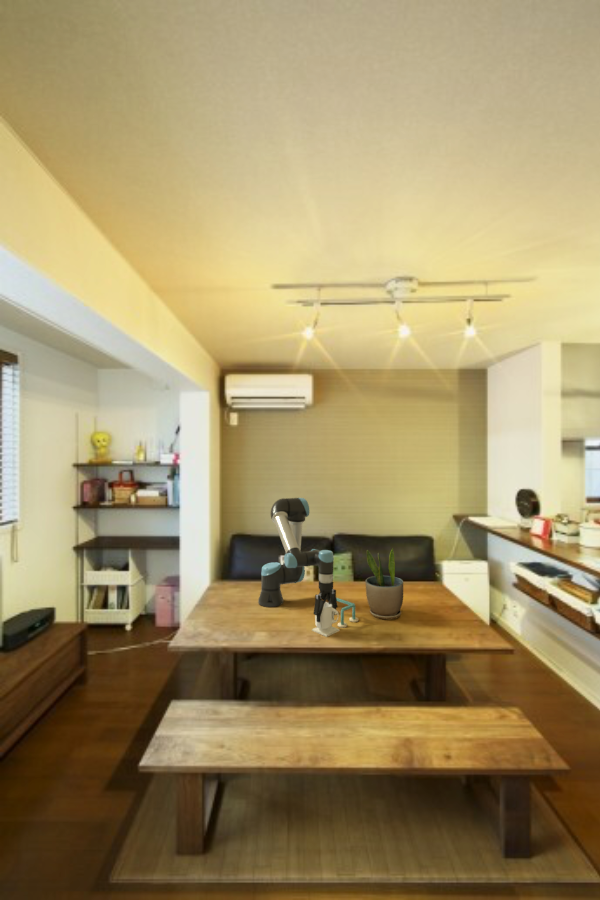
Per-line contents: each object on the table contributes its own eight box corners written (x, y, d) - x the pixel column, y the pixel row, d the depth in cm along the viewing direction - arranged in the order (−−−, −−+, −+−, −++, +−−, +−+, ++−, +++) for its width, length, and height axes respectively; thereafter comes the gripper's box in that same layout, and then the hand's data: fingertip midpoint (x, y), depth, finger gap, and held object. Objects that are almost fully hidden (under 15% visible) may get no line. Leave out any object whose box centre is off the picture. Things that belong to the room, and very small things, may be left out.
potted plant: (357, 615, 230) (358, 544, 231) (378, 604, 246) (378, 538, 246) (390, 625, 216) (391, 550, 216) (410, 614, 232) (410, 543, 232)
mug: (338, 630, 204) (338, 608, 205) (314, 628, 206) (314, 607, 206) (339, 623, 213) (339, 602, 213) (316, 621, 215) (316, 601, 215)
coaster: (311, 630, 209) (311, 629, 209) (324, 625, 216) (324, 623, 216) (326, 636, 202) (326, 635, 202) (339, 630, 209) (339, 629, 209)
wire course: (316, 618, 225) (316, 601, 225) (333, 610, 236) (333, 595, 236) (342, 628, 212) (343, 611, 212) (360, 620, 222) (360, 603, 222)
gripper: (317, 587, 199) (316, 633, 199) (344, 578, 214) (344, 621, 214) (306, 584, 204) (305, 629, 204) (333, 575, 220) (333, 617, 219)
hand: (325, 625), depth 209 cm, fingers closed on mug, 9 cm apart
